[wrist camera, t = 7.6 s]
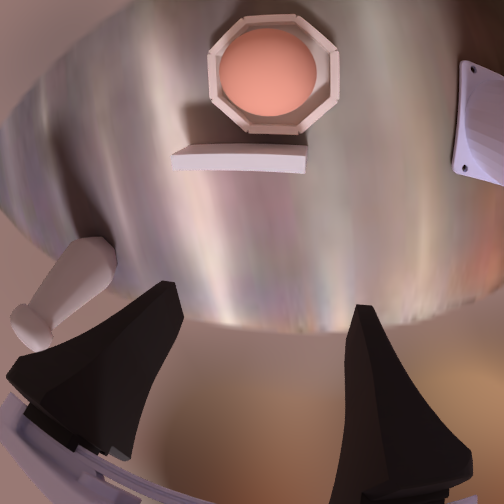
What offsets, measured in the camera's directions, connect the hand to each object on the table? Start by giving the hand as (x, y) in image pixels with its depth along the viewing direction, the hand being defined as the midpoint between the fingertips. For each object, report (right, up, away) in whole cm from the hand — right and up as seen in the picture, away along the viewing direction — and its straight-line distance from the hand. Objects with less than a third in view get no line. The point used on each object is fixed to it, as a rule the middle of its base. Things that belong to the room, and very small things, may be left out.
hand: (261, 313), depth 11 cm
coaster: (+1, +13, +4) cm, 14 cm away
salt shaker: (-16, +2, +16) cm, 23 cm away
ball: (+1, +13, +3) cm, 13 cm away
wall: (-1, +9, +7) cm, 11 cm away
